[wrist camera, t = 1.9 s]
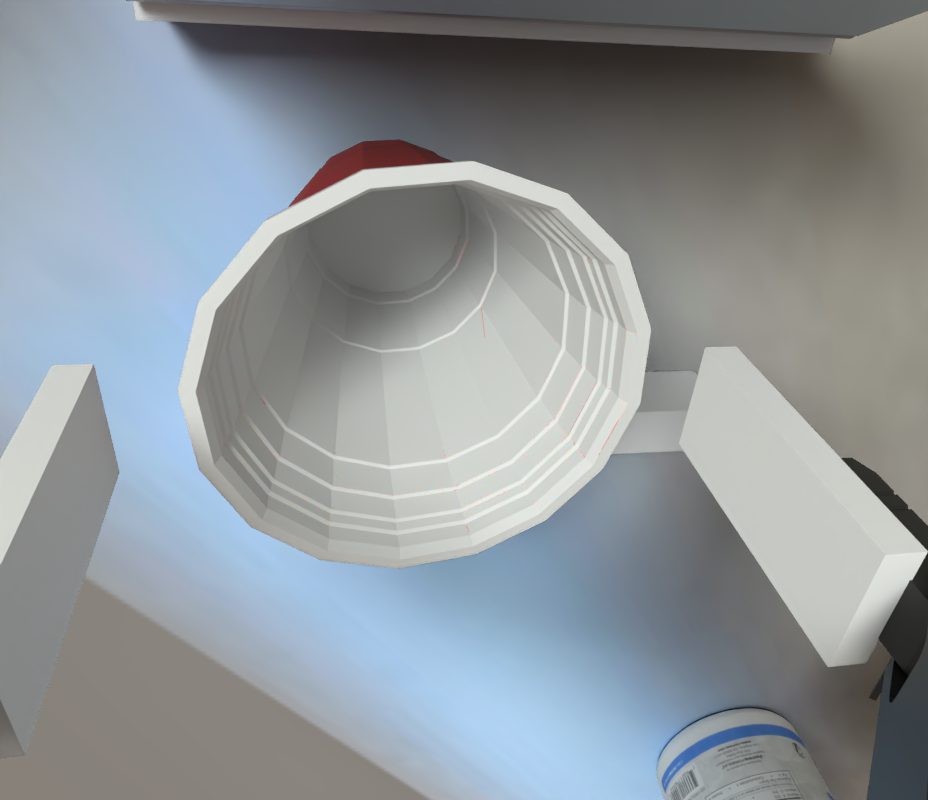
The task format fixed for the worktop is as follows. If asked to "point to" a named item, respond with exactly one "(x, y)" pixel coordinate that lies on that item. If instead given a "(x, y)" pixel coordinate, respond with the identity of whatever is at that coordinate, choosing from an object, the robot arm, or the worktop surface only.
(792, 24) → the door
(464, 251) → the plastic cup
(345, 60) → the worktop surface
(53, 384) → the robot arm
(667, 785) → the supplement tub
